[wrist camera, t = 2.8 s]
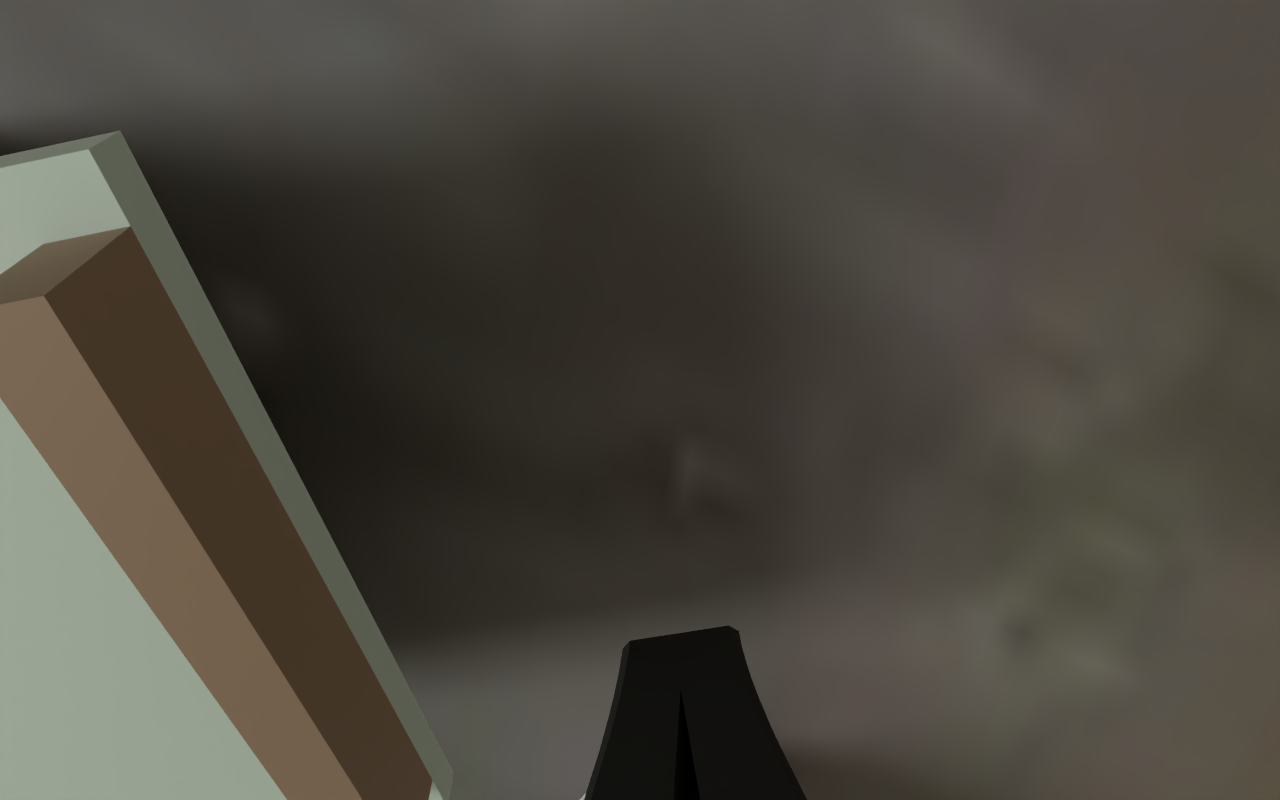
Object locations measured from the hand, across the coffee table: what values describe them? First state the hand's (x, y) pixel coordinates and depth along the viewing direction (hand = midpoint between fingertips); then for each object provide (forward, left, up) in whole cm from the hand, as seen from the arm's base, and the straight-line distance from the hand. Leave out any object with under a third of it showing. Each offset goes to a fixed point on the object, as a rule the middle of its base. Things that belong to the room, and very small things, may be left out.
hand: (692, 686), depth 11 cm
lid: (0, +12, -4) cm, 13 cm away
